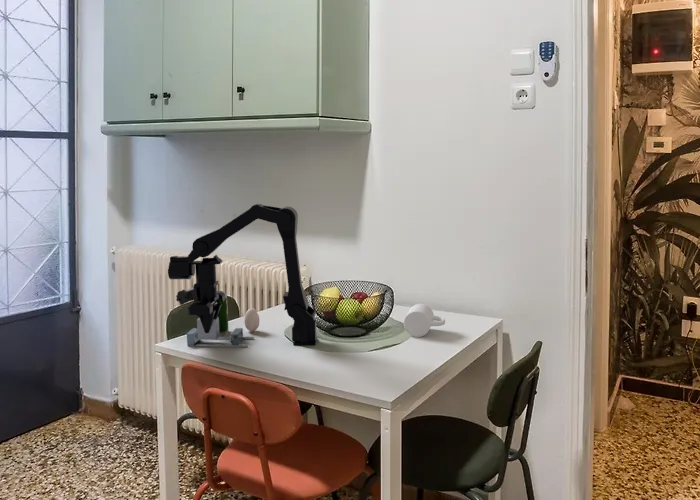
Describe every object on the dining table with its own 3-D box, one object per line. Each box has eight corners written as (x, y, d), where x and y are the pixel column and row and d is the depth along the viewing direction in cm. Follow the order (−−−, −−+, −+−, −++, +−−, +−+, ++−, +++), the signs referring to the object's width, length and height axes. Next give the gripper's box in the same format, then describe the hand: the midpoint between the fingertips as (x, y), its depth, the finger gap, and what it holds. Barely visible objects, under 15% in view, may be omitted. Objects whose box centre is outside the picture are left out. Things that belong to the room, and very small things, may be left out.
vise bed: (253, 338, 194) (253, 327, 194) (247, 347, 186) (247, 335, 185) (194, 338, 195) (193, 327, 195) (186, 346, 187) (185, 335, 186)
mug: (403, 336, 195) (403, 310, 194) (408, 327, 205) (408, 303, 203) (443, 338, 192) (443, 312, 191) (446, 329, 202) (447, 304, 201)
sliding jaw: (243, 339, 193) (242, 328, 193) (235, 349, 184) (235, 337, 183) (235, 338, 194) (234, 328, 193) (227, 348, 184) (227, 337, 183)
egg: (254, 334, 199) (253, 310, 198) (241, 332, 201) (240, 309, 200) (262, 330, 203) (262, 307, 202) (250, 328, 205) (249, 305, 204)
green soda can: (214, 335, 198) (213, 297, 196) (208, 331, 202) (206, 294, 201) (231, 332, 201) (229, 294, 199) (224, 328, 205) (222, 291, 203)
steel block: (201, 336, 192) (200, 316, 192) (219, 336, 192) (218, 316, 191) (197, 339, 189) (196, 319, 188) (216, 339, 189) (215, 319, 188)
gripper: (188, 273, 198) (191, 322, 200) (168, 285, 179) (171, 340, 182) (224, 272, 197) (226, 322, 199) (207, 285, 178) (210, 340, 181)
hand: (208, 331), depth 190 cm, fingers closed on steel block, 3 cm apart
